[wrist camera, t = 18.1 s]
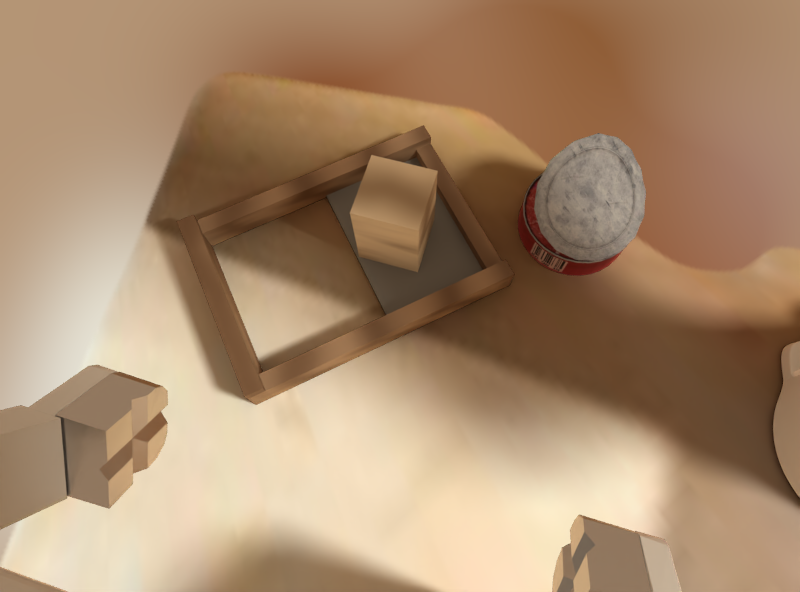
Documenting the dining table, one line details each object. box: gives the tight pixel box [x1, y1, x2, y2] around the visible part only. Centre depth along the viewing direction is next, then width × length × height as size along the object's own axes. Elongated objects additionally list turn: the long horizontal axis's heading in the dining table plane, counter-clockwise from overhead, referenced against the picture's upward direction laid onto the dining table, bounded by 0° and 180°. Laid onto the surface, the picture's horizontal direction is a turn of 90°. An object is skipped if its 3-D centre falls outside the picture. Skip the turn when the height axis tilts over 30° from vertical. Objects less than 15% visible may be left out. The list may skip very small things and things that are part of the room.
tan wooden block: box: [350, 155, 438, 272], centre depth 48 cm, size 6×6×8 cm
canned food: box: [518, 133, 646, 276], centre depth 49 cm, size 11×10×10 cm
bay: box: [177, 125, 514, 405], centre depth 50 cm, size 24×17×4 cm
